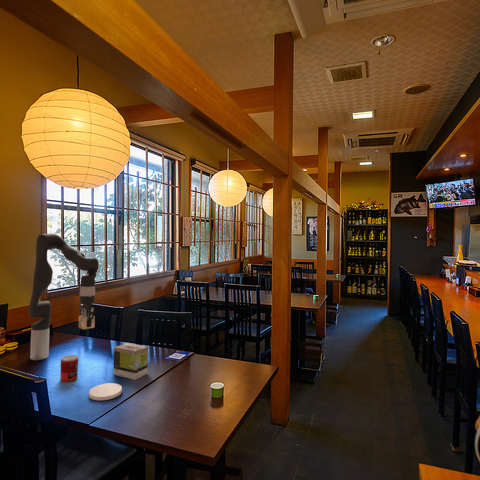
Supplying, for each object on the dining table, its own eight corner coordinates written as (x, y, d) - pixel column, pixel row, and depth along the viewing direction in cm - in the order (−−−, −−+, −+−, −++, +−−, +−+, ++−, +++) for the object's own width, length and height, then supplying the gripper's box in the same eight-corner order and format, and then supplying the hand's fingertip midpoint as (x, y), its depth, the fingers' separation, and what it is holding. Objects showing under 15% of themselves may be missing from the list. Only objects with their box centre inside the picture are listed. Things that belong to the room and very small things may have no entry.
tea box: (147, 373, 174) (148, 346, 174) (134, 380, 165) (135, 351, 165) (126, 368, 180) (127, 341, 181) (112, 374, 171) (113, 346, 171)
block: (78, 327, 175) (78, 316, 175) (89, 325, 179) (90, 314, 179) (82, 329, 170) (83, 318, 170) (94, 327, 175) (94, 316, 175)
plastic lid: (124, 398, 147) (124, 393, 147) (90, 405, 140) (90, 399, 140) (119, 386, 159) (119, 381, 159) (87, 392, 152) (87, 386, 152)
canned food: (70, 383, 160) (71, 361, 160) (56, 381, 161) (57, 359, 161) (81, 377, 167) (81, 355, 167) (67, 375, 169) (68, 354, 169)
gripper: (75, 293, 177) (74, 324, 177) (85, 296, 167) (84, 329, 167) (89, 292, 182) (88, 322, 182) (100, 295, 173) (99, 327, 172)
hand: (86, 325), depth 175 cm, fingers closed on block, 6 cm apart
